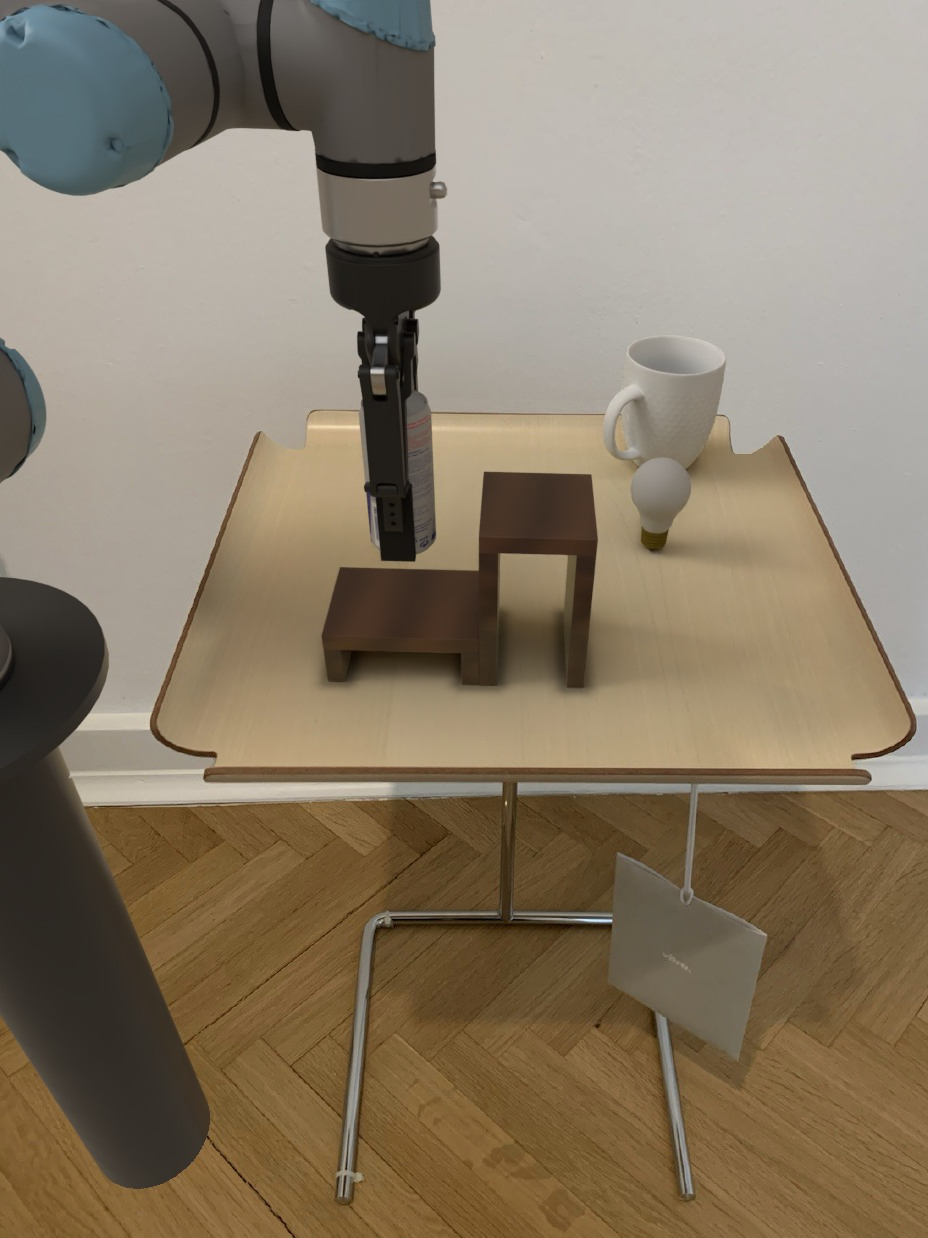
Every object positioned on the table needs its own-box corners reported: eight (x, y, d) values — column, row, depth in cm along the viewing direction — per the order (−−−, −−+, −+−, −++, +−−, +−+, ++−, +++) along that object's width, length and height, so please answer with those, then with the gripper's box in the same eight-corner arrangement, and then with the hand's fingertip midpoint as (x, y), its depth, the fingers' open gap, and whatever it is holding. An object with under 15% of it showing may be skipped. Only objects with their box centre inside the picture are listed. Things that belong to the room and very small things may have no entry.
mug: (634, 505, 104) (647, 392, 95) (570, 465, 110) (577, 356, 102) (727, 466, 111) (748, 358, 102) (662, 431, 117) (676, 326, 109)
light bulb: (676, 568, 95) (691, 480, 88) (618, 558, 96) (628, 470, 89) (684, 538, 99) (699, 451, 92) (629, 529, 100) (639, 442, 94)
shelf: (327, 681, 81) (306, 532, 71) (344, 610, 88) (327, 467, 79) (583, 688, 81) (597, 539, 71) (579, 617, 88) (591, 473, 79)
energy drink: (412, 516, 80) (404, 380, 72) (449, 543, 77) (445, 405, 69) (358, 536, 78) (343, 398, 70) (394, 566, 74) (383, 425, 67)
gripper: (427, 286, 55) (440, 606, 70) (448, 199, 69) (455, 482, 84) (298, 283, 55) (339, 604, 70) (345, 197, 69) (371, 480, 84)
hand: (402, 537), depth 77 cm, fingers closed on energy drink, 5 cm apart
